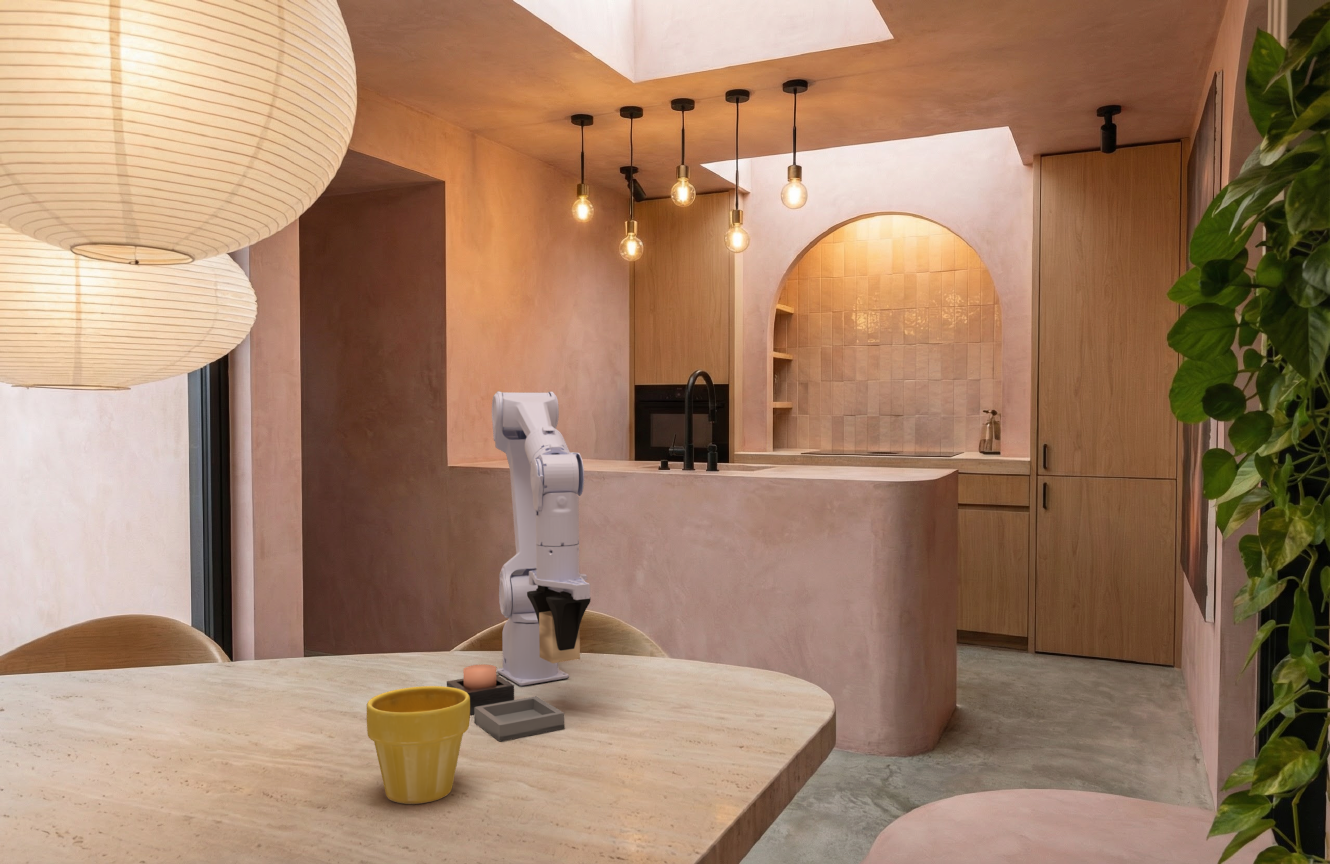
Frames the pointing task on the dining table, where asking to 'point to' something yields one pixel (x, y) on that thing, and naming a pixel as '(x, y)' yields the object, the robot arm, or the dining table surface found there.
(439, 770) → the plant pot
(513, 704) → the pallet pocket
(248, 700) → the dining table surface
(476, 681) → the button
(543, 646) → the block
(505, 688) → the button housing
